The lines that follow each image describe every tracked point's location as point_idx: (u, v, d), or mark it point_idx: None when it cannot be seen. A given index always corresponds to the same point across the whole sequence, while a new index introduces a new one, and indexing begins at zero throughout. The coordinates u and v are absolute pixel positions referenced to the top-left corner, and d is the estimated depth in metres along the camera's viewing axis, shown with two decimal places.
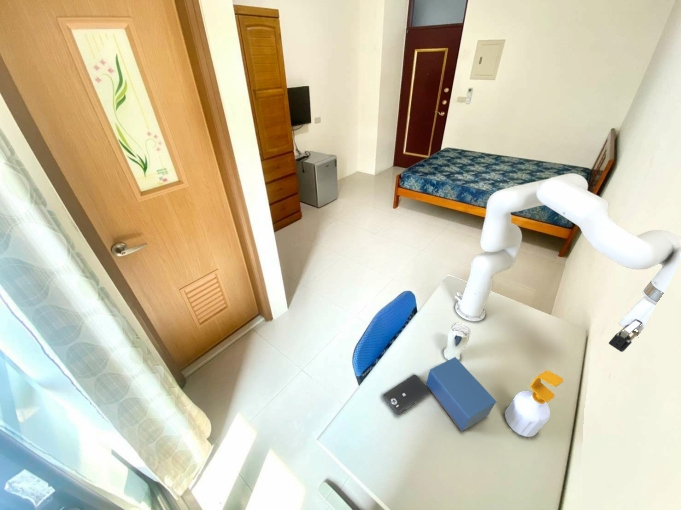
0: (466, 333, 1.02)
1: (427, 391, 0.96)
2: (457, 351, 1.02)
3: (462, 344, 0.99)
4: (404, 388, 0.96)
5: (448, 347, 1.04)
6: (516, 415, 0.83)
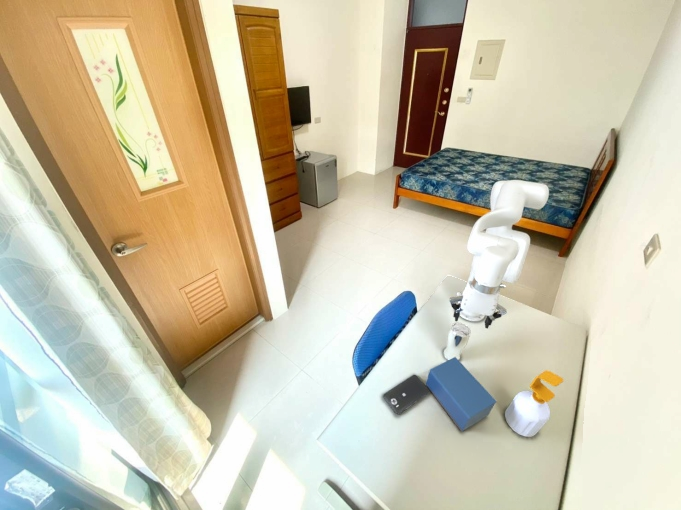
0: (466, 333, 1.02)
1: (427, 391, 0.96)
2: (457, 351, 1.02)
3: (462, 344, 0.99)
4: (404, 388, 0.96)
5: (448, 347, 1.04)
6: (516, 415, 0.83)
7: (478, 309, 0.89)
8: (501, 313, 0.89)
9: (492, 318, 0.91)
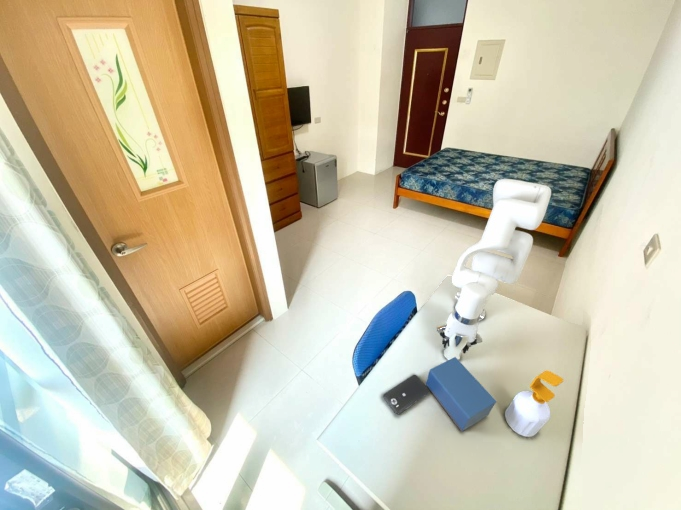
0: None
1: (427, 391, 0.96)
2: (457, 351, 1.02)
3: (462, 344, 0.99)
4: (404, 388, 0.96)
5: (448, 347, 1.04)
6: (516, 415, 0.83)
7: None
8: (477, 341, 0.99)
9: (468, 345, 1.01)
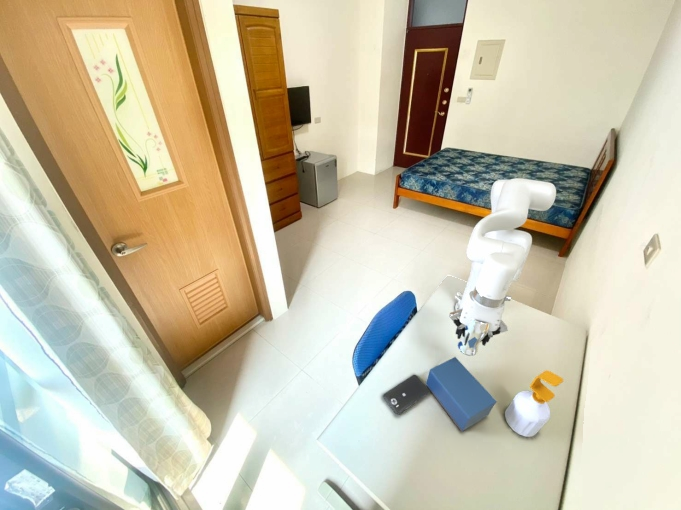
0: None
1: (427, 391, 0.96)
2: (475, 342, 0.82)
3: (482, 333, 0.79)
4: (404, 388, 0.96)
5: (464, 338, 0.84)
6: (516, 415, 0.83)
7: None
8: (501, 330, 0.79)
9: (490, 334, 0.81)
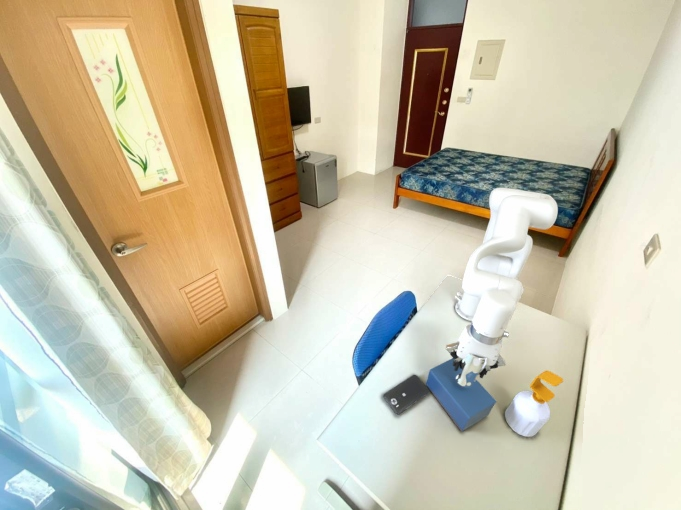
0: None
1: (427, 391, 0.96)
2: (473, 376, 0.80)
3: (480, 368, 0.77)
4: (404, 388, 0.96)
5: (461, 370, 0.82)
6: (516, 415, 0.83)
7: None
8: (499, 364, 0.77)
9: (487, 368, 0.79)
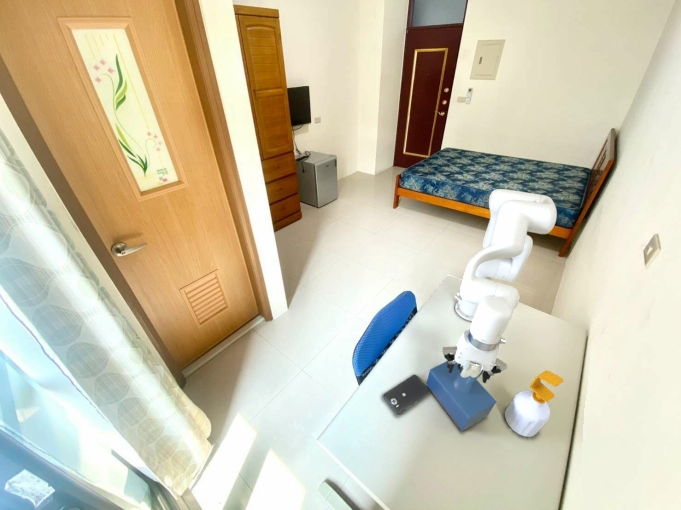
0: None
1: (427, 391, 0.96)
2: (470, 382, 0.82)
3: (476, 374, 0.79)
4: (404, 388, 0.96)
5: (458, 376, 0.84)
6: (516, 415, 0.83)
7: None
8: (501, 369, 0.78)
9: (490, 373, 0.79)
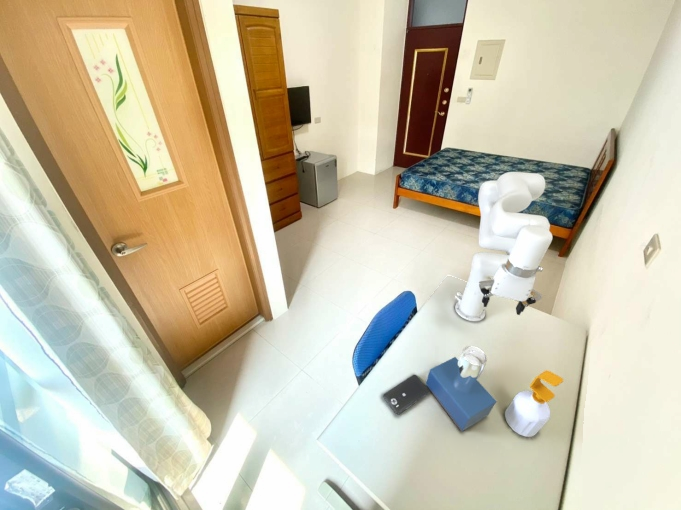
0: (481, 359, 0.82)
1: (427, 391, 0.96)
2: (470, 382, 0.82)
3: (476, 374, 0.79)
4: (404, 388, 0.96)
5: (458, 376, 0.84)
6: (516, 415, 0.83)
7: (510, 294, 0.83)
8: (536, 299, 0.83)
9: (525, 304, 0.85)
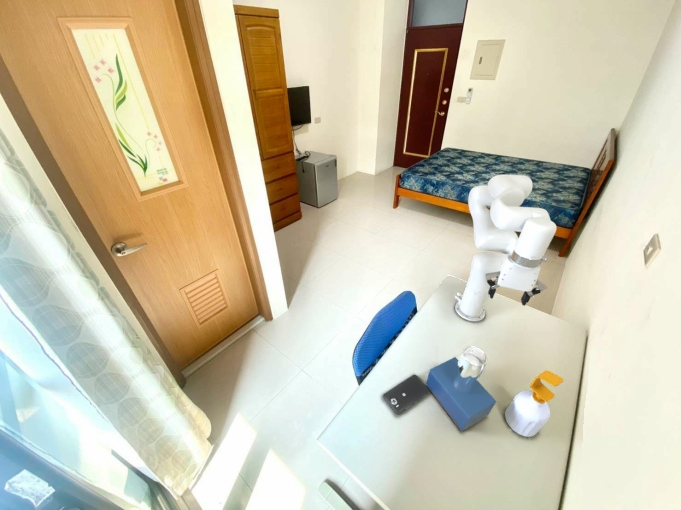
0: (481, 359, 0.82)
1: (427, 391, 0.96)
2: (470, 382, 0.82)
3: (476, 374, 0.79)
4: (404, 388, 0.96)
5: (458, 376, 0.84)
6: (516, 415, 0.83)
7: (516, 284, 0.87)
8: (540, 289, 0.87)
9: (530, 294, 0.88)
